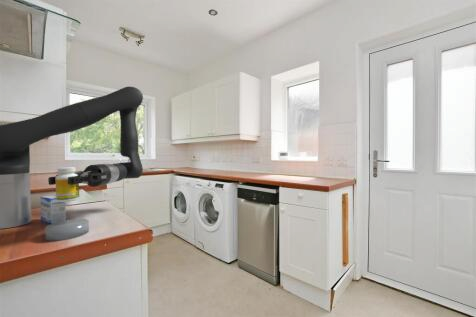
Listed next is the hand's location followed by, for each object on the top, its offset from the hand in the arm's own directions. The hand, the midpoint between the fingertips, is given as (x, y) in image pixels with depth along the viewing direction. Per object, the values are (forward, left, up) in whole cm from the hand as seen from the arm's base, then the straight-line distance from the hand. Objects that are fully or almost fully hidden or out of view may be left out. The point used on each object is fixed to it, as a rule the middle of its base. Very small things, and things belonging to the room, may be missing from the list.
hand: (59, 181), depth 62 cm
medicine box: (-17, +14, -16) cm, 28 cm away
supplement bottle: (0, +3, -6) cm, 7 cm away
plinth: (0, +2, -16) cm, 16 cm away
